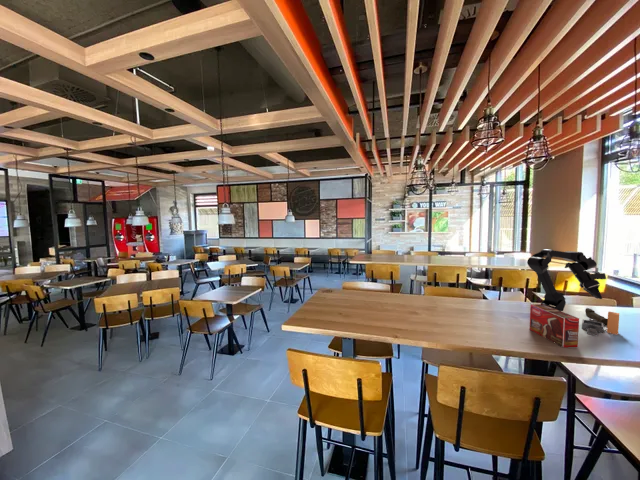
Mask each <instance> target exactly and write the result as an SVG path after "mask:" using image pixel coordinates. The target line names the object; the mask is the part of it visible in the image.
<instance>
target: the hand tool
mask: <svg viewBox="0 0 640 480" xmlns="http://www.w3.org/2000/svg"><path fill="white" fill-rule="evenodd" d="M585 315H586V317H588V318H590V319H595V320H596V322H600V323H603V326H606V327H607V323H608V318H606V317H605V316H604V315H603V316H602V315H600V314H598V313H596V312H595V310H593V309H592V308H590V307H586V308H585Z"/></svg>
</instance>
